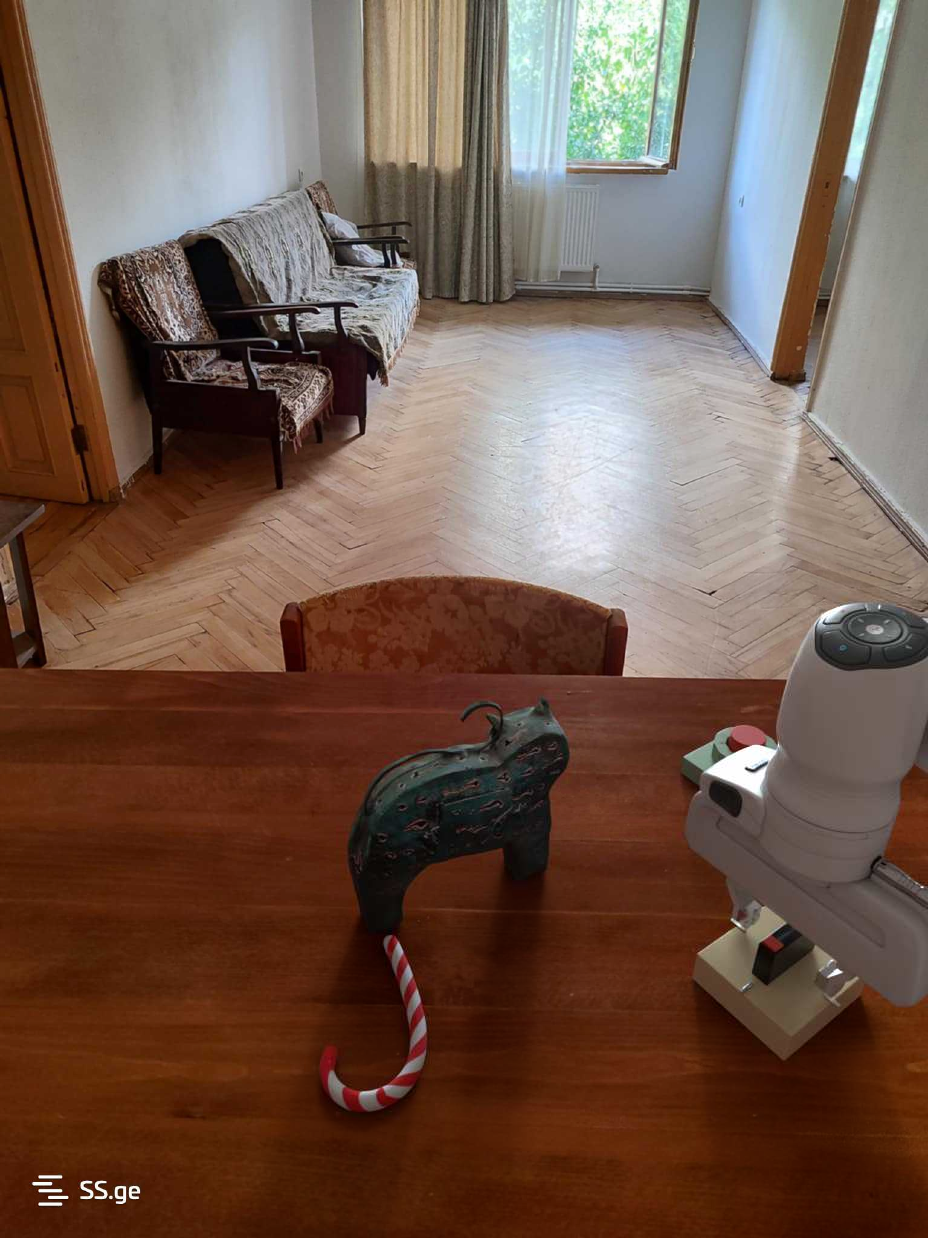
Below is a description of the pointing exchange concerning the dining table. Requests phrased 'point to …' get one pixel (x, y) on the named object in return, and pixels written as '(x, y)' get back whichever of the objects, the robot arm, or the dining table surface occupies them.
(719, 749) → the button box
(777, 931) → the black battery pack
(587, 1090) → the dining table surface
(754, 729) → the red button
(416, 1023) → the candy cane
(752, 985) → the battery holder base
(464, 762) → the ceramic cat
